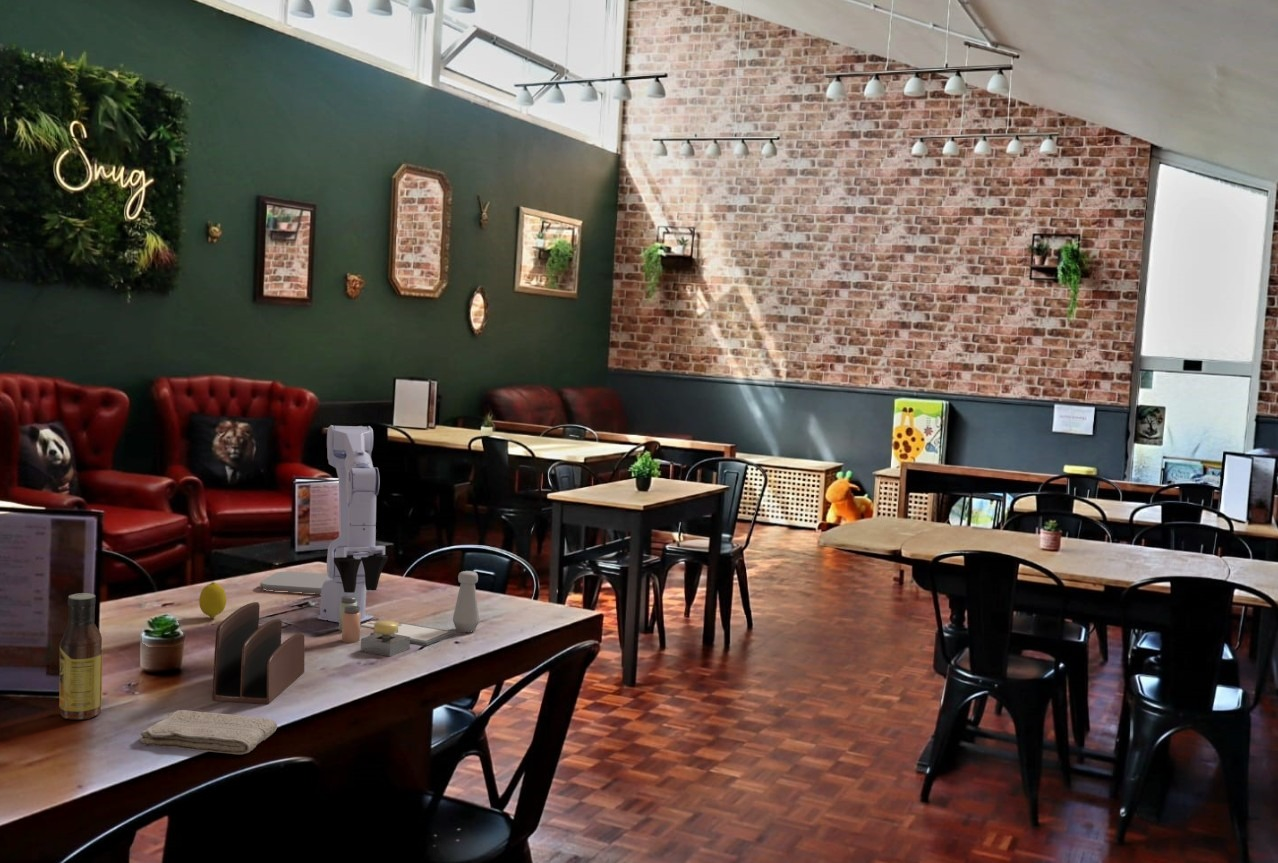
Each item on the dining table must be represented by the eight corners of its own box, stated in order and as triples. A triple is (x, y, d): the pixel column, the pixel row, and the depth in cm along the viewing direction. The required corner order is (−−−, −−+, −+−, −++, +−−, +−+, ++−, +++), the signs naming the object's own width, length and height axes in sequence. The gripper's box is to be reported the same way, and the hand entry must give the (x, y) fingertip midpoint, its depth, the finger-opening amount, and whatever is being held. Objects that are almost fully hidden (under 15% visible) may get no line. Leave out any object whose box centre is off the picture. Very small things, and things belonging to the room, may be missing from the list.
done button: (368, 642, 238) (369, 624, 237) (382, 637, 242) (383, 619, 242) (388, 646, 236) (389, 627, 235) (402, 640, 240) (403, 623, 240)
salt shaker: (473, 634, 255) (476, 575, 254) (448, 632, 256) (451, 573, 255) (482, 628, 260) (485, 570, 260) (458, 625, 262) (460, 568, 261)
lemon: (193, 619, 255) (194, 582, 254) (211, 614, 260) (212, 578, 259) (213, 622, 253) (214, 586, 252) (231, 617, 258) (232, 581, 257)
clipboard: (368, 635, 249) (369, 630, 249) (398, 624, 260) (398, 619, 259) (426, 645, 244) (426, 640, 244) (454, 634, 254) (455, 629, 254)
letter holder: (211, 702, 201) (213, 621, 200) (252, 669, 221) (255, 596, 220) (269, 705, 201) (271, 624, 200) (305, 673, 221) (307, 599, 220)
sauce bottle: (68, 708, 193) (70, 589, 192) (107, 709, 194) (110, 591, 192) (51, 721, 187) (53, 598, 185) (92, 722, 187) (95, 600, 186)
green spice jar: (335, 629, 252) (336, 597, 252) (345, 626, 256) (347, 594, 255) (349, 632, 251) (350, 600, 250) (359, 628, 254) (360, 597, 254)
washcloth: (173, 723, 191) (173, 704, 190) (280, 732, 189) (280, 714, 189) (135, 748, 179) (135, 728, 179) (248, 758, 177) (249, 738, 177)
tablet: (362, 600, 283) (362, 590, 283) (256, 593, 284) (256, 583, 284) (380, 586, 299) (380, 577, 299) (279, 579, 300) (279, 570, 300)
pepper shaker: (338, 641, 244) (339, 607, 243) (348, 637, 247) (350, 604, 246) (352, 643, 242) (353, 610, 242) (363, 640, 246) (364, 607, 245)
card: (360, 625, 257) (360, 624, 257) (371, 622, 261) (371, 620, 260) (379, 629, 255) (379, 627, 255) (390, 625, 259) (390, 623, 259)
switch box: (360, 651, 237) (361, 638, 237) (381, 643, 244) (381, 631, 243) (389, 656, 234) (390, 644, 234) (409, 648, 241) (410, 636, 241)
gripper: (356, 526, 236) (355, 594, 236) (397, 525, 250) (396, 589, 249) (327, 525, 239) (326, 593, 238) (369, 525, 253) (368, 588, 252)
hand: (360, 591), depth 244 cm, fingers open, 7 cm apart
